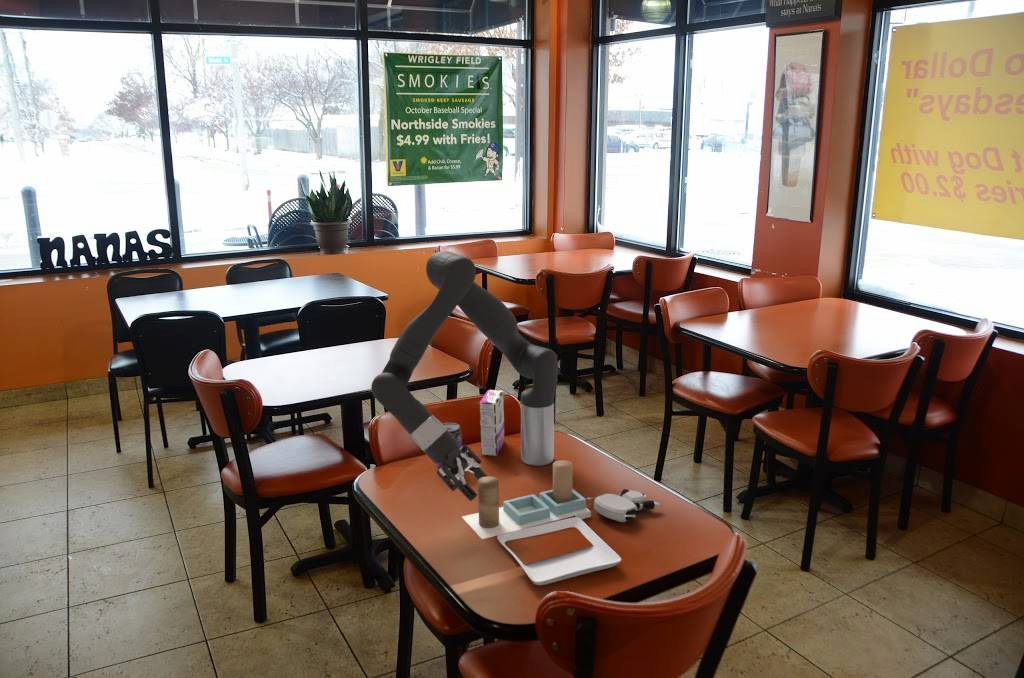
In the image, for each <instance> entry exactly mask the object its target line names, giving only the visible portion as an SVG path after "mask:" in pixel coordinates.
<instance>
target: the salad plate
mask: <svg viewBox="0 0 1024 678" xmlns="http://www.w3.org/2000/svg"><path fill="white" fill-rule="evenodd" d="M568 528H576V529H577V530H578V531H580V533H581V534H582V535H583V536H584V537H585V539H587V540H588V541H589V542H590V543H591V544H592V545H591V546H586V547H583V548H579V549H576V550H573V551H569V552H566V553H561V554H557V555H555V556H551V557H547V558H544V559H540V560H536V561H533V562H529V563H526V564H523V562H522V561H521V559H520V558H519V557H518V556H517V555H516V553H514V551H512V549H510V547H508V546H507V545H506V542H509V541H513V540H518V539H524V538H529V537H534V536H539V535H544V534H548V533H554V532H557V531H561V530H564V529H568ZM496 538H497V540H498V542H499V543H500V544H501V546H503V547H504V549H506V550H507V551H508V552H509V553H510V554H511V556H512V557H513V558H514V559H515V560H516V561H517V563H518V565H520V567H521V568H522V570H523V571H524V572H525V574H526V575H527V576H528V578H529V580H530V581H531V582H532V583H533V584H534V585H536V586H544V585H550V584H553V583H556V582H559V581H563V580H567V579H571V578H574V577H578V576H581V575H586V574H590V573H594V572H598V571H601V570H606V569H609V568H613V567H615V566H617V565H618V564H620V563H621V562H622V558H621V556H620V555H619V554H618V553H617V552H616V551H614V549H612V548H611V547H610V546H609V545H608V544H607V543H606V542H605V541H604V540H603V539H602V538H601V537H600V536H599V535H597V534H596V532H595V531H593V529H592V528H591V527H590V526H588V525H587V524H586V522H585V521H584V520H583V519H580V518H579V517H576V516H575V517H574V516H573V517H568V518H564V519H560V520H556V521H552V522H548V523H544V524H540V525H536V526H532V527H528V528H525V529H521V530H517V531H513V532H509V533H505V534H501V535H497V536H496Z"/></svg>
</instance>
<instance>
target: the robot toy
mask: <svg viewBox="0 0 1024 678" xmlns="http://www.w3.org/2000/svg"><path fill="white" fill-rule="evenodd" d="M586 500H590V501H591V500H594V503H593V508H594V510H595V511H596V512H597V513H598V514H600V515H602V516H603V517H604V518H607V519H610V520H614V521H616V522H618V523H619V522H620V523H626V522H627V521H630V520H632V519H634V518H636V517H637V512H639V511H641V510H642V509H643V508H644V509H646V510H654V509H655V507H656V508H659V507H660V506H661V505H660V503H659V502H658V501H654V500H652V499H651V500H647V494H644V493H642V492H641V491H636V490H631V489H627V488H624V489H622V490H621V492H620V495H618V494H615V493H604V494H601V495H598V496H596V497H587V499H586Z"/></svg>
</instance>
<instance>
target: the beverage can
mask: <svg viewBox="0 0 1024 678" xmlns="http://www.w3.org/2000/svg"><path fill="white" fill-rule="evenodd" d="M442 424H443V425H444V427H445V428H446V429H447V430H448V431H449V432H450V433H451V434H452V435H453V436H454V437H455V439H456V440H457V441H458V442H459V444H458V446H457V448H459V449H460V448H461V447H462V446H463V437H462V435H463V432H462V430H461V427H460V424H458V423H455V422H444V423H442ZM436 465H437V467H438V468H439V469H440V468H441V467H442V465H441V463H438V464H436Z"/></svg>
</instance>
